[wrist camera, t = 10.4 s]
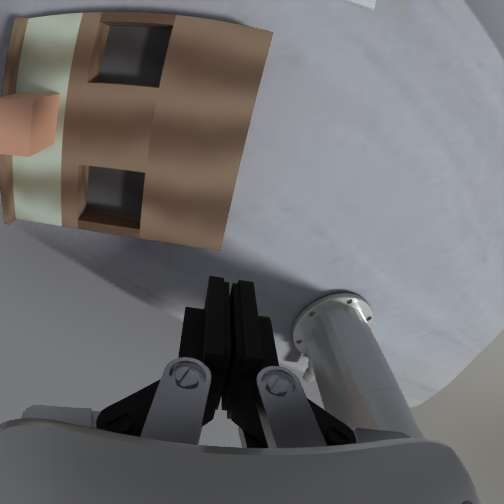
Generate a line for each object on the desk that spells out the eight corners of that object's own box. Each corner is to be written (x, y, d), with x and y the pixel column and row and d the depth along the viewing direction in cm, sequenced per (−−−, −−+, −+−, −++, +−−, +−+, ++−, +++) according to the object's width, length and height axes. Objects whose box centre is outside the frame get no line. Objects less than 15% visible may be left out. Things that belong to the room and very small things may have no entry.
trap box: (220, 233, 36) (220, 258, 31) (26, 204, 31) (4, 223, 26) (266, 37, 26) (276, 29, 21) (41, 23, 21) (14, 18, 16)
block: (54, 143, 25) (29, 157, 20) (16, 140, 24) (-11, 153, 19) (60, 93, 22) (33, 98, 18) (21, 92, 21) (-8, 98, 17)
